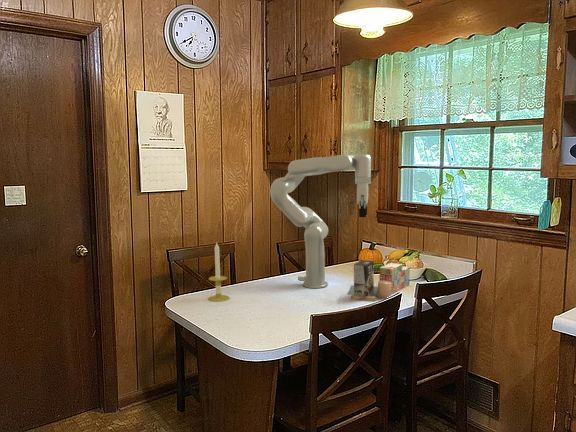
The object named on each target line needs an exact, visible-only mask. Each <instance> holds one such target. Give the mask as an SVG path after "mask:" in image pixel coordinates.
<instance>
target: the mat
mask: <svg viewBox="0 0 576 432" xmlns="http://www.w3.org/2000/svg"><path fill="white" fill-rule="evenodd" d="M377 291H378V285H374V294H373V295H372V296H371V297H377ZM347 295H350V296H354V284H353V285H350V287H349V289H348V292H347Z"/></svg>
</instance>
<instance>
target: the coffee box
mask: <svg viewBox="0 0 576 432" xmlns="http://www.w3.org/2000/svg"><path fill="white" fill-rule="evenodd" d="M374 267H375V265H374V260H367V259H366V260H365V259H364V260H363V259H360V260H359V261H358V262H356V263H354V264H353V285H354V295H353V296H367V297H373V296H372V295H373V294H374V286H375V285H374V284H375V283H374V279H375V275H374V272H375V271H374Z"/></svg>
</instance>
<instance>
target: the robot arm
mask: <svg viewBox="0 0 576 432" xmlns="http://www.w3.org/2000/svg"><path fill="white" fill-rule="evenodd" d="M371 162H372V158H371V155H370V154H356V155H354V154H339V155H338V154H337V155H332V156H330V155H329V156H319V157H310V158H302V159H296V160H292V161H290V163H289V164H288V166H287V171H288V172H287V173H286V174H285V176H284V177H278V178H276V179H275V180H273V182H272V184H271V185H270V190H269V191H270V193H269V194H270V198H271V201H272V202H273V203H274V204H275V206H276V207H277V208H278V209H279V210H280V211H281V212H282V213H283V214H284V216H286V218H287V219H288V220H290V222H291V223H292V224H293V225H295V226H296V227H298V228H302V227H303V228H305V230H304V234H303V236H304V237H303V238H304V247H305V275H304V276H297V281H299V282H303V283H302V286H303V287H305V288H309V289H324V288H327V287H328V285H329V283H328V281H326V279H325V278H326V274H325V273H326V271H325V266H326V263H325V260H326V259H325V256H326V255H325V243H324V239H325V238H327V236H328V235H329V227H328V225H327V224H326V222H324V220H323V219H322V218H321V217H320V216H319V215H318V214H317V213H316V212H315V211H314V210H313V209H311V208H310V207H307V206H301V205H299V203H298V202H297V201H296V200H295V199H294V198H292V197H291V196H290V195H289V194H290V193H292V192H294V190H295V189H296V188H297V187H298V186H299V185H300V183H301V182H302V181H303V180H304V179H305V177H308V176H309V177H310V176H319V175H324V174H329V173H335V172H344V171H345V172H346V171H351V170H354V178H355V179H354V184H355V185H356V205H359V209H358V217H359V218H366V217H367V215H368V202H369V184H370V185H371V184H372V170H371V169H372V163H371Z"/></svg>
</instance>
